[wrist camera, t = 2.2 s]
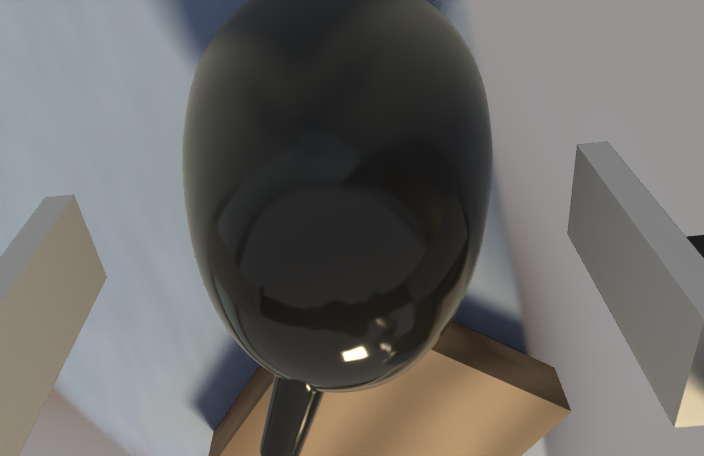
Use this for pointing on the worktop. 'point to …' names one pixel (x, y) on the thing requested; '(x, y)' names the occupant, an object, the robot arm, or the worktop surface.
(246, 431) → the walnut stand
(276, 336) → the glossy black egg shape
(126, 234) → the worktop surface
